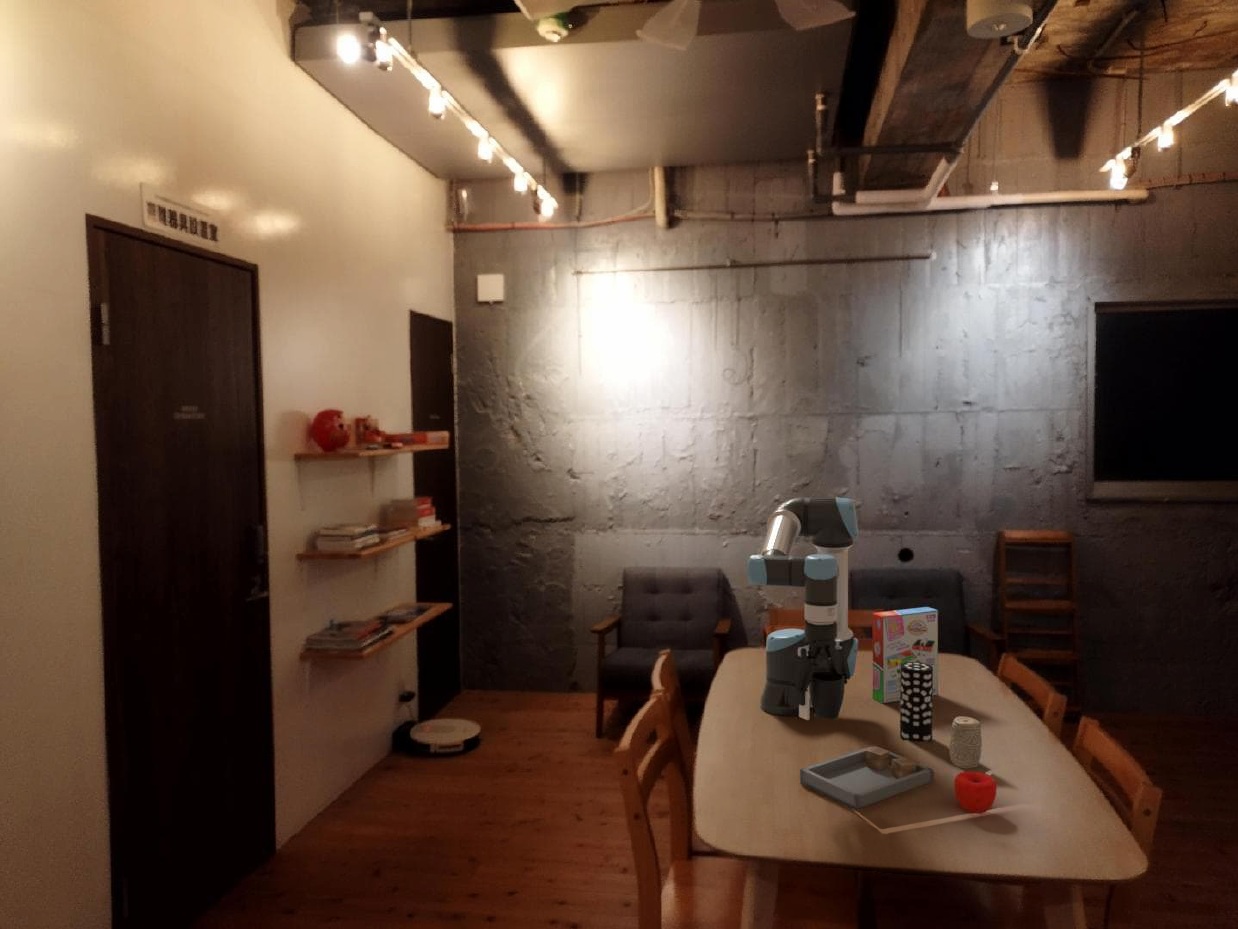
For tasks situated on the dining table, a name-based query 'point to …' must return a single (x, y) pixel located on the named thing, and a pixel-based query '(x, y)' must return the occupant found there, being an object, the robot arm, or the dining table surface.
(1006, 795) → the dining table surface
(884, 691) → the game box
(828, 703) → the mug
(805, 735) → the dining table surface
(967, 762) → the carving
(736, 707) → the dining table surface
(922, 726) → the spotted tube
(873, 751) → the walnut block
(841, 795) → the tray
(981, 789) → the apple
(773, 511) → the robot arm
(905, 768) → the walnut block
